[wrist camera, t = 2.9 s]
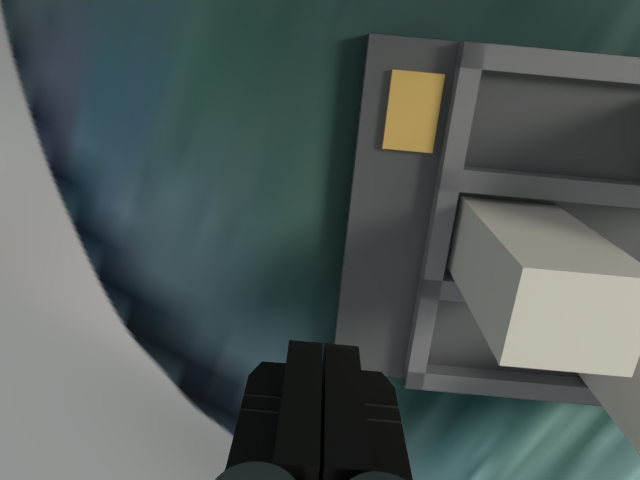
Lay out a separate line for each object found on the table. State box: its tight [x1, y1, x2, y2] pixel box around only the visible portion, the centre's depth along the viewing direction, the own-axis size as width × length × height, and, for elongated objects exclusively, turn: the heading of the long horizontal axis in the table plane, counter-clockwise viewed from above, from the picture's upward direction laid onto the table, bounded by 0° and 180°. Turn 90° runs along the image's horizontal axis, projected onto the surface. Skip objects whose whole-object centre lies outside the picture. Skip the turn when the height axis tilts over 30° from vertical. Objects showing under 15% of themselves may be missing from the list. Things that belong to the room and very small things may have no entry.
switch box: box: [334, 33, 640, 406], centre depth 22 cm, size 20×15×2 cm
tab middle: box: [448, 196, 640, 377], centre depth 18 cm, size 4×3×8 cm
